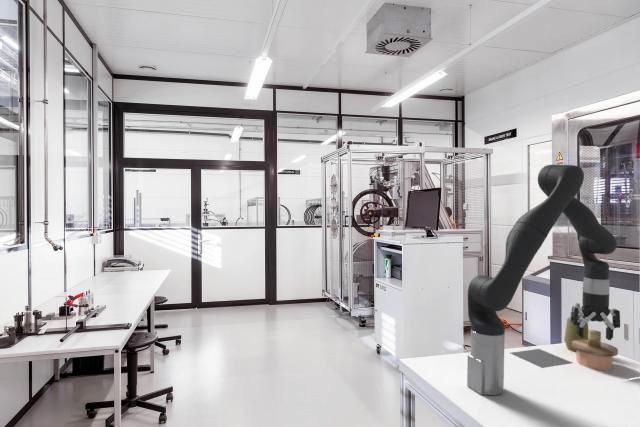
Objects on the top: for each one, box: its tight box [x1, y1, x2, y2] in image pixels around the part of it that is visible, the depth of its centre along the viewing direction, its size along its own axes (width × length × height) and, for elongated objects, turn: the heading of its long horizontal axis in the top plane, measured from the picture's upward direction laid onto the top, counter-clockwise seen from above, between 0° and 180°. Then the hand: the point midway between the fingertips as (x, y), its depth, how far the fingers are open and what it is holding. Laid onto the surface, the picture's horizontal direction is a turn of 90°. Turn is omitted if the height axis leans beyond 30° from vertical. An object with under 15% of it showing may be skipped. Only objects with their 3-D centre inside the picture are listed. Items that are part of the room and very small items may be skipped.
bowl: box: [575, 350, 614, 371], centre depth 138 cm, size 10×10×6 cm
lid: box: [572, 329, 619, 357], centre depth 137 cm, size 13×13×6 cm
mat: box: [509, 348, 573, 369], centre depth 143 cm, size 14×14×1 cm
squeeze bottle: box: [563, 302, 589, 353], centre depth 151 cm, size 8×8×18 cm
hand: (594, 338), depth 137 cm, fingers open, 8 cm apart
